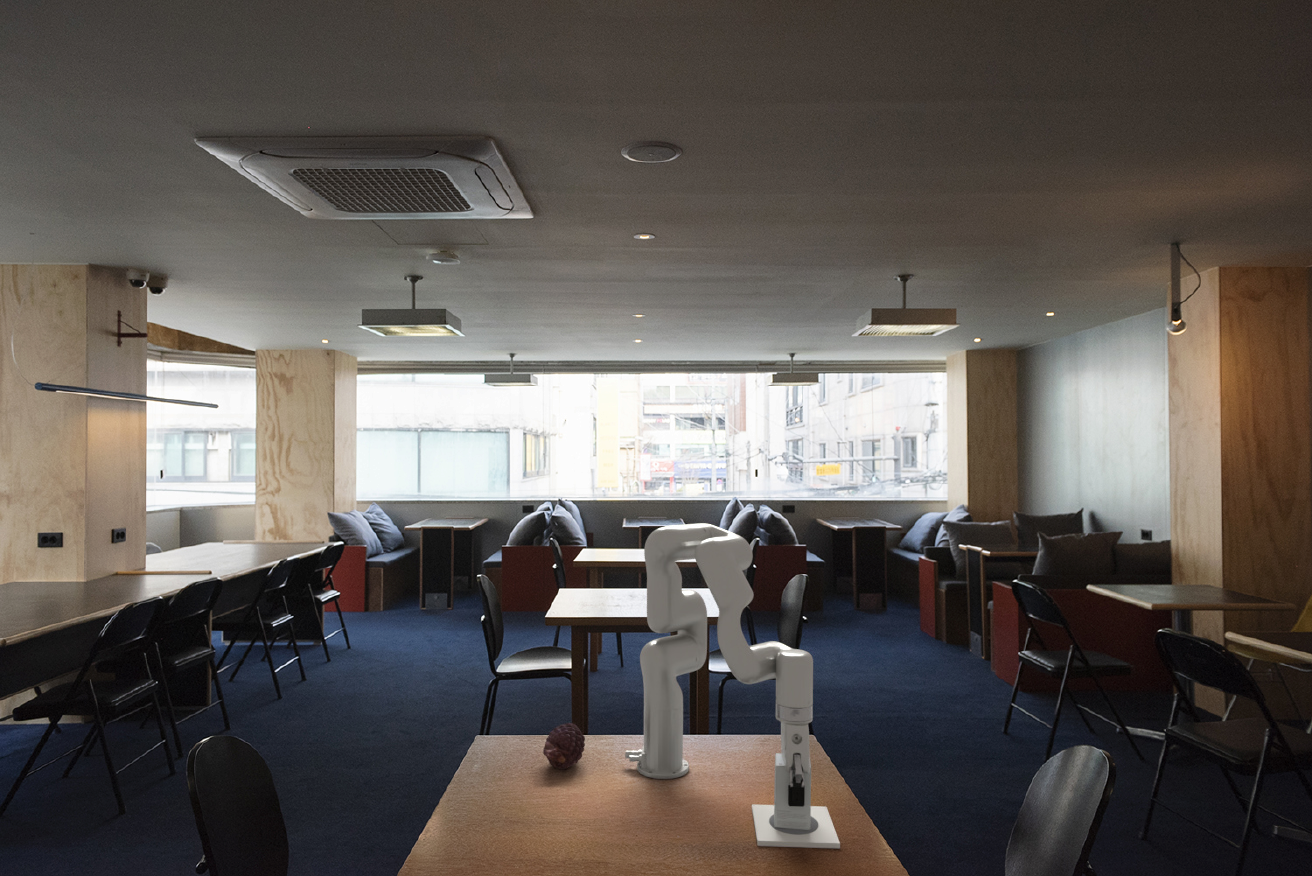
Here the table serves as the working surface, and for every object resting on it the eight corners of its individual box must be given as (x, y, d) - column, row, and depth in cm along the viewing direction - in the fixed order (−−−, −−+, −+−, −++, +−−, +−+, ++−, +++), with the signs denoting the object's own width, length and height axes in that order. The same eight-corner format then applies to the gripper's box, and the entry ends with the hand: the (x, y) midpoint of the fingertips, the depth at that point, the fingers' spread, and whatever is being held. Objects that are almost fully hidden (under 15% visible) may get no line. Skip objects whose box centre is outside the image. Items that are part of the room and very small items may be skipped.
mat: (757, 846, 156) (757, 840, 156) (751, 809, 172) (751, 804, 172) (839, 848, 155) (839, 843, 155) (826, 811, 171) (826, 806, 171)
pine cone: (556, 750, 205) (556, 711, 205) (593, 753, 203) (594, 713, 203) (534, 778, 187) (535, 735, 187) (575, 781, 186) (575, 738, 186)
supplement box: (811, 831, 160) (811, 768, 160) (773, 828, 161) (774, 765, 161) (809, 814, 167) (810, 754, 167) (774, 811, 168) (774, 751, 169)
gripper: (819, 726, 155) (818, 815, 155) (806, 698, 172) (805, 778, 172) (780, 725, 156) (779, 814, 155) (771, 697, 173) (770, 777, 173)
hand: (793, 795), depth 164 cm, fingers open, 8 cm apart
